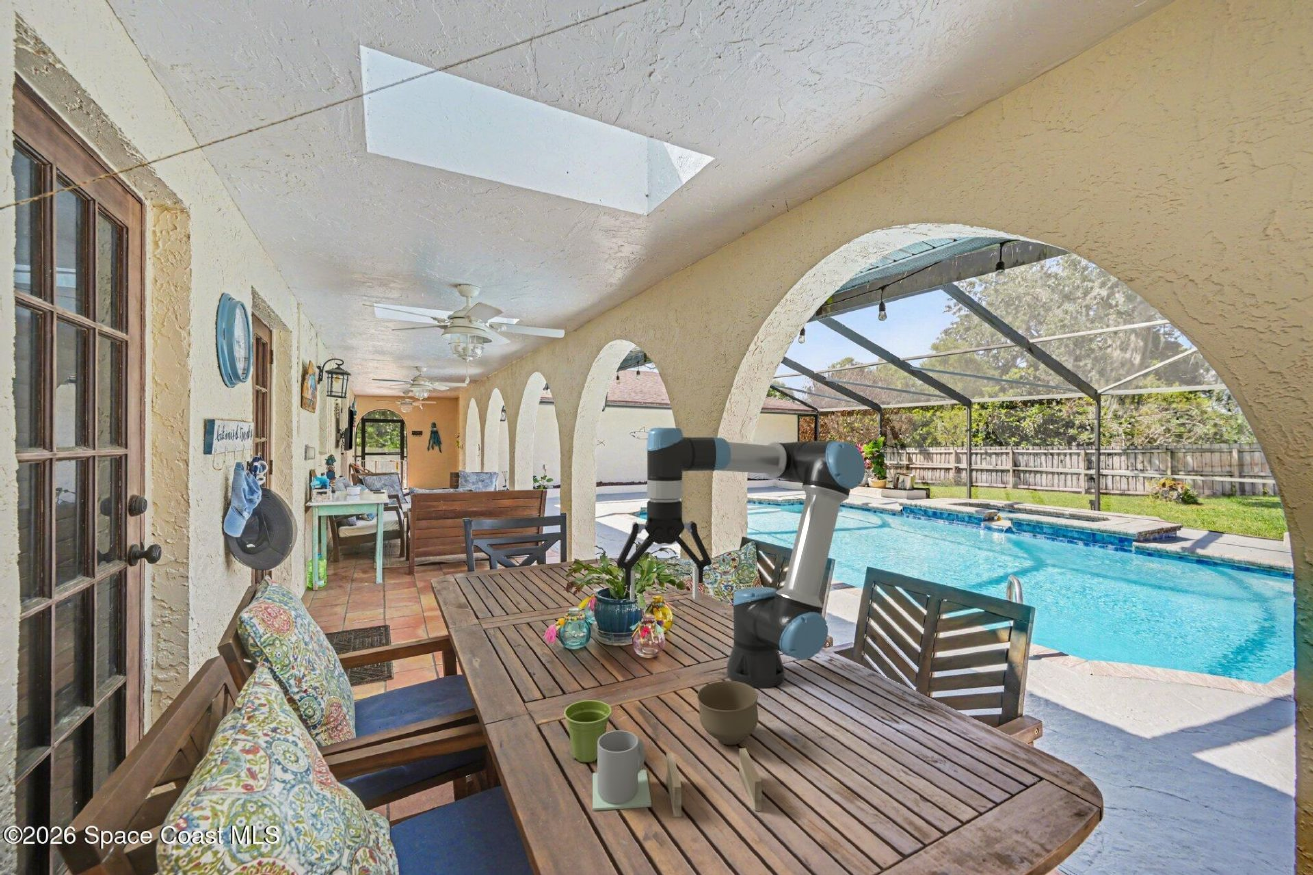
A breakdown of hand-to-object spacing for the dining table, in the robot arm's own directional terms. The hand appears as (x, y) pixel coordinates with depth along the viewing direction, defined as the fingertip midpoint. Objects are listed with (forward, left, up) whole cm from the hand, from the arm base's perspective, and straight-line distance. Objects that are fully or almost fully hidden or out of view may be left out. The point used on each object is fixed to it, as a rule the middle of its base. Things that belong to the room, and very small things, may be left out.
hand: (664, 599), depth 118 cm
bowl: (-13, +4, -29) cm, 32 cm away
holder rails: (-6, +21, -29) cm, 36 cm away
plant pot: (+16, +6, -29) cm, 34 cm away
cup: (+10, +18, -28) cm, 35 cm away
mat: (+10, +18, -29) cm, 35 cm away
